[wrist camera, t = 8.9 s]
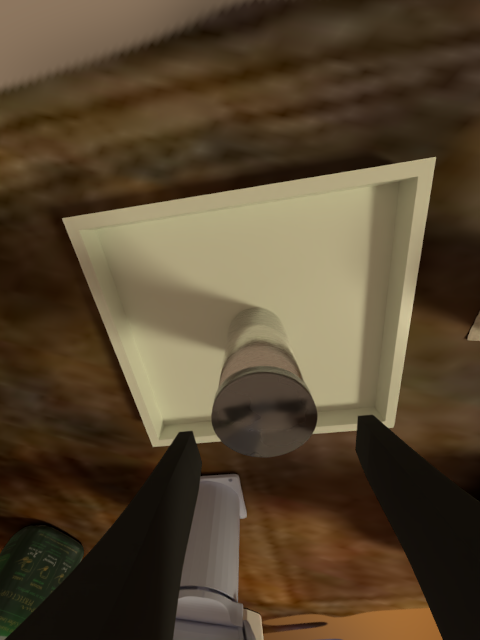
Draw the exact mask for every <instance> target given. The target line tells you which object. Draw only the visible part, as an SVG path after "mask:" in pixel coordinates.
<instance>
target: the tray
mask: <svg viewBox="0 0 480 640" xmlns="http://www.w3.org/2000/svg"><path fill="white" fill-rule="evenodd" d="M435 161H436V157H433V158H427V159H421V160H415V161H409V162H403V163H396V164H390V165H384V166H378V167H372V168H366V169H360V170H354V171H348V172H342V173H335V174H329V175H323V176H317V177H311V178H305V179H299V180H293V181H287V182H281V183H274V184H268V185H262V186H256V187H250V188H244V189H238V190H232V191H226V192H220V193H214V194H207V195H201V196H195V197H189V198H183V199H177V200H171V201H165V202H159V203H153V204H146V205H140V206H134V207H128V208H122V209H116V210H110V211H104V212H98V213H92V214H85V215H79V216H73V217H67V218H62V220H63V223H64V225H65V228H66V230H67V233H68V235H69V238H70V240H71V243H72V245H73V248H74V250H75V253H76V255H77V258H78V260H79V263H80V265H81V268H82V270H83V273H84V275H85V278H86V280H87V283H88V285H89V288H90V290H91V293H92V295H93V298H94V300H95V303H96V305H97V308H98V310H99V313H100V315H101V318H102V320H103V323H104V325H105V328H106V330H107V333H108V335H109V338H110V340H111V343H112V345H113V348H114V350H115V353H116V355H117V358H118V361H119V363H120V366H121V368H122V371H123V373H124V376H125V378H126V381H127V383H128V386H129V388H130V391H131V393H132V396H133V398H134V401H135V403H136V406H137V408H138V411H139V413H140V416H141V418H142V421H143V423H144V426H145V428H146V431H147V433H148V436H149V438H150V441H151V443H152V446H153V447H156V446H169V445H171V443H172V442H173V440H174V439H175V437H176V436H177V434H178V433H179V432H184V431H193V434H194V437H195V441H196V443H206V442H218V441H221V440H220V439H219V438H218V436H217V435H216V433H215V431H214V429H213V426H212V421H211V414H212V408H213V403H214V397H215V395H216V392H217V390H218V386H219V381H220V375H221V369H222V363H223V357H224V352H225V346H226V340H227V334H228V328H229V325H230V323H231V321H232V319H233V318H234V317H235V316H236V315H237V314H238V313H240V312H241V311H243V310H246V309H249V308H264V309H267V310H269V311H271V312H273V313H274V314H275V315H277V316H278V318H279V319H280V320H281V322H282V324H283V327H284V330H285V332H286V335H287V338H288V340H289V343H290V346H291V348H292V351H293V354H294V356H295V359H296V361H297V364H298V367H299V369H300V372H301V375H302V377H303V380H304V383H305V384H306V385H307V387H308V388H309V390H310V392H311V395H312V398H313V400H314V403H315V405H316V409H317V415H318V417H317V424H316V427H315V430H314V432H313V434H318V433H330V432H343V431H355V430H357V421H358V416H363V415H374V416H375V417H376V418H377V419H379V420H380V421H381V422H382V423H383V424H384V425H385V426H386V427H388V428H393V427H394V423H395V417H396V410H397V404H398V398H399V391H400V385H401V378H402V372H403V366H404V359H405V353H406V346H407V340H408V334H409V327H410V321H411V314H412V308H413V302H414V295H415V289H416V282H417V276H418V269H419V263H420V257H421V250H422V244H423V237H424V231H425V225H426V218H427V212H428V205H429V199H430V193H431V186H432V180H433V173H434V167H435Z"/></svg>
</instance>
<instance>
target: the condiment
mask: <svg viewBox="0 0 480 640" xmlns="http://www.w3.org/2000/svg"><path fill="white" fill-rule="evenodd" d="M467 340H473V341H480V312H479V314H478V316H477V318H476V320H475V322H474V325H473V326H472V328H471V330H470V333H469V335H468V339H467Z"/></svg>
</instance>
